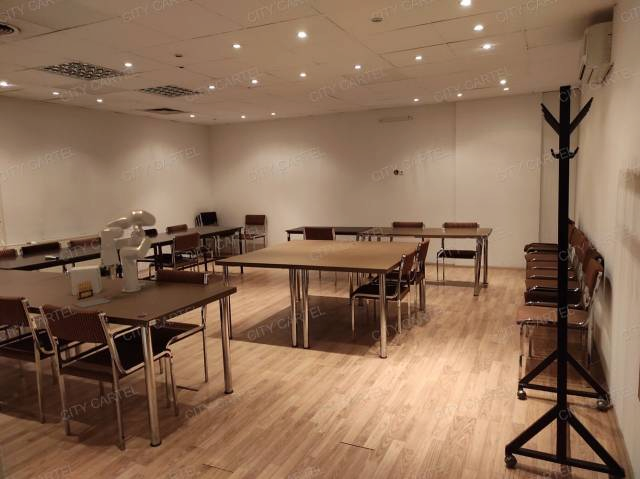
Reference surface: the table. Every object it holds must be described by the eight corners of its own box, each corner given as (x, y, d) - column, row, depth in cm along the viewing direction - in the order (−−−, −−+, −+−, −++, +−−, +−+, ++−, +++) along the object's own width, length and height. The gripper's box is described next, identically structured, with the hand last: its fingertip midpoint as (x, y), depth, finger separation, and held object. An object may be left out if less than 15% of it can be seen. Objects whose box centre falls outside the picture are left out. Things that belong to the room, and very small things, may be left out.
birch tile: (111, 277, 307) (110, 266, 306) (116, 278, 302) (115, 266, 302) (106, 278, 305) (105, 266, 304) (111, 279, 300) (110, 267, 299)
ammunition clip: (79, 299, 304) (77, 282, 302) (77, 299, 305) (75, 281, 303) (93, 296, 313) (92, 278, 312) (91, 295, 314) (90, 278, 313)
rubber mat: (102, 299, 304) (101, 298, 304) (111, 302, 295) (111, 301, 295) (73, 304, 291) (73, 303, 291) (82, 308, 282) (82, 307, 282)
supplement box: (102, 289, 334) (100, 264, 332) (99, 293, 322) (97, 267, 319) (75, 291, 329) (73, 266, 327) (72, 295, 316) (69, 269, 314)
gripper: (118, 245, 309) (120, 272, 312) (93, 248, 297) (96, 276, 299) (123, 246, 304) (126, 273, 307) (98, 249, 292) (101, 278, 295)
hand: (111, 274), depth 303 cm, fingers closed on birch tile, 3 cm apart
